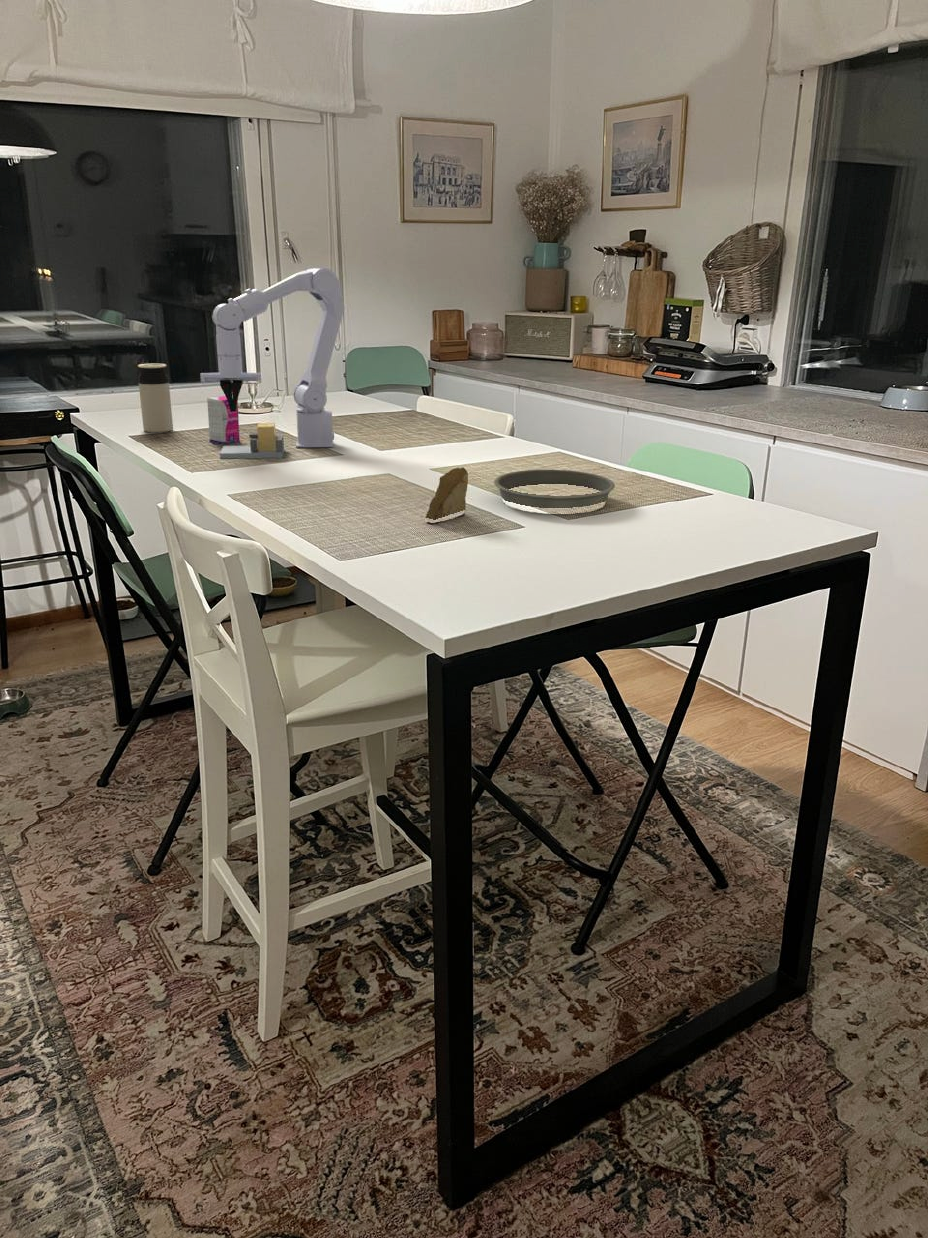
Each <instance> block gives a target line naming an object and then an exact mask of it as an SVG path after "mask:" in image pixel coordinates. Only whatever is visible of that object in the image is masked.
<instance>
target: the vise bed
mask: <svg viewBox="0 0 928 1238" xmlns="http://www.w3.org/2000/svg"><path fill="white" fill-rule="evenodd" d="M274 443H275V451H259V449H258V450H257V451H251V447H250V445H223V447H222V449H221V451H220V453H219V458H220V459H268V458H269V459H270V458H274V459H275V458H279V459H280V458H281V459H282V458H283V457H284V453H285V452H284V451H285V444H284V443H285V442H284V434H283V433H276V437H275V441H274Z"/></svg>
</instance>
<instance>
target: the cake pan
mask: <svg viewBox="0 0 928 1238" xmlns="http://www.w3.org/2000/svg"><path fill="white" fill-rule="evenodd" d="M493 483H494V485H495V487H496V488H498V489H499V493H500V496H501V497H502V498H503V499H504V500H505V501H508V502H513V503H516V504H520V505H525V506H531V507H539V508H573V507H583V506H590V505H594V504H598V503H601V502H605V501H606V500H607V501H608V497H609V494H610V492H612V491H613V490H614V489H615V487H616V485H615V483H614V482H613V481H612V480H611V479H609V478H608V477H605V476H602V475H600V474H596V473H590V472H584V471H577V470H567V469H528V470H517V471H513V472H512V471H511V472H508V473H503V474H502V475H499V476H498V477H496V478H495V479H494V481H493ZM538 484H568V485H576V486H584V487H588V488H593V489H596V490H599V491H601V492H597V493H592V494H585V495H571V496H550V495H536V494H528V493H521V492H517V491H513V490H509V489H511V488H514V487H519V486H526V485H538ZM502 498H501V499H502ZM607 501H606V502H607Z"/></svg>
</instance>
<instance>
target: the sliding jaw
mask: <svg viewBox="0 0 928 1238" xmlns="http://www.w3.org/2000/svg"><path fill="white" fill-rule="evenodd" d="M248 435H249V443H250V445H249V446H250V447H251V451H257V450H258V449H259V447H258V431H257V432H249V434H248Z"/></svg>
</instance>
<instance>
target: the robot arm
mask: <svg viewBox="0 0 928 1238" xmlns="http://www.w3.org/2000/svg"><path fill="white" fill-rule="evenodd" d="M341 285H342V284H341V281H340V279H339V278H338V275H336V273H335V272H334V271H333V270H331V269H330V268H327V267H322V268H319V267H311V268H308V269H307V270H301V271H299V272H297V273H294V274H292V275H290V276H289V277H286V278H285V279H284V278H283V280H281V281H279V282H277V283H275V284H274V285H271V286H270V287H268V288H265V289H264V290H263V291H261V290H260V289H257V288H253V289H251V288H248V289H245V290H244V292H245V293H243V294H241V295H240V296H237V297H235V298H233V297H230V298H229V299H227V301H228V303H220V304H217V306H215V308H214V309H213V312H212V315H211V318H212V321H213V323H214V324H215V331H216V337H215V338H216V340H215V341H216V351H217V352H216V353H217V354H216V355H217V364H218V367H217V368H218V372H201V373H200V375H199V376H200V383H206V382H214V383H215V382H220V383H219V387H220V388H221V390H222V392H223V394H224V396H225V397H226V398H227V401H228V404H229V407H230V412H236V411H237V401H238V399H239V396H240V392H241V389H242V386H243V385H244V382H257V383H260V382H262V373H261V372H243V358H242V357H243V356H242V347H241V346H242V345H241V335H240V325H242V322H243V323H244V322H246V321H250V319H253V318H255V317H257V316H259V315H261V314H264V313H265V312H267V310H268V307H269V305H270V304H271V303H273V302H275V301H277V300H280V299H283V298H284V297H286V296H289V295H291V294H293V293H296V292H308V293H309V294H310V295H312V297H314V299H316V301H317V303H318V304H319V306H320V308H321V310H322V311H321V315H320V319H319V322H318V327H317V329H316V332H315V336H314V341H313V344H312V347H311V351H310V354H309V359H308V362H307V366H306V370H305V372H304V373H303V374H302V376H301V378H300V381H299V383H298V384H297V385H296V387H295V388H294V390H293V393H292V394H293V399H294V401H295V403H296V405H297V406H296V427H297V429H296V430H297V440H296V443H295V448H333V447H334V440H335V432H333V429H334V428H333V411H332V410H325V406H326V405H327V400H328V399H327V387H328V383H327V382H328V381H327V377H326V376H327V373H328V370H329V369H328V368H329V365H330V362H331V358H332V354H333V351H334V348H335V344H336V340H337V339H338V338H337V337H338V333H339V329H340V326H341V322H342V319H343V316H344V311H345V304H344V300H343V294H342V290H341ZM238 402H239V401H238Z"/></svg>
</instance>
